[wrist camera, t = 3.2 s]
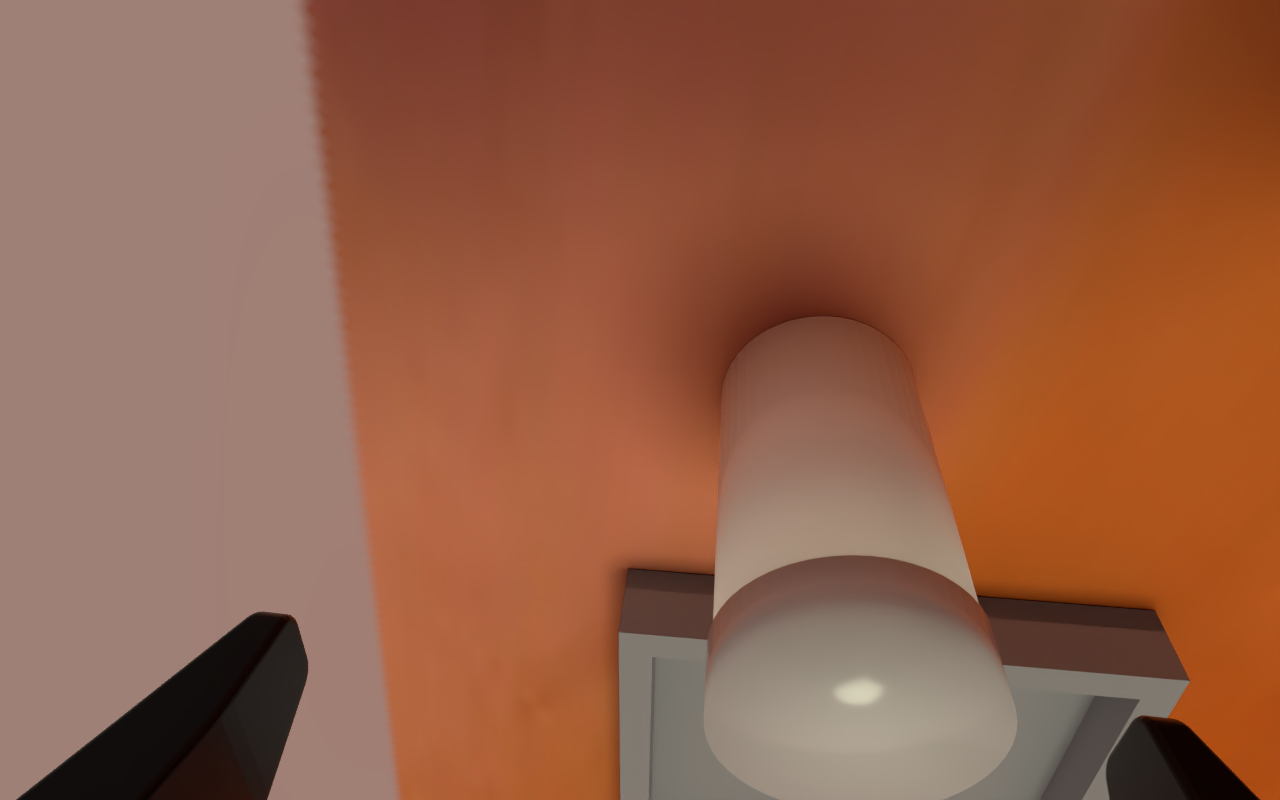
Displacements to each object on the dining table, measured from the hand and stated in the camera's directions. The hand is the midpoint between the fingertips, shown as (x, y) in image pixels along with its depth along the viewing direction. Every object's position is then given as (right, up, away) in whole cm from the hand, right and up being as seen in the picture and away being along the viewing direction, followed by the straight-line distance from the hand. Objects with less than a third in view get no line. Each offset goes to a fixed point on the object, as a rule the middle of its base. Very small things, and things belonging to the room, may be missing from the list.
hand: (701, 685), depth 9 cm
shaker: (+4, +3, +13) cm, 14 cm away
